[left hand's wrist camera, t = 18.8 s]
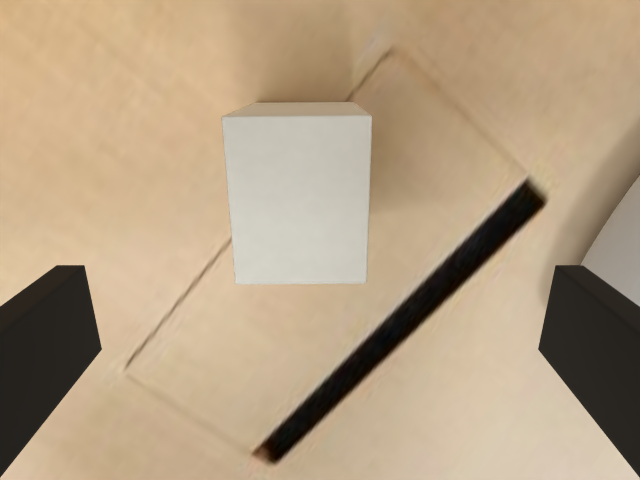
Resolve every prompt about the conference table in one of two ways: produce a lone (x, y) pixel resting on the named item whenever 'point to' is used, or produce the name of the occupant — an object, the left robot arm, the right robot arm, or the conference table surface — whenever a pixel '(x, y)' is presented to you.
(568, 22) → the conference table surface
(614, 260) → the projector
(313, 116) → the brick
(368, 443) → the conference table surface
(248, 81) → the conference table surface
